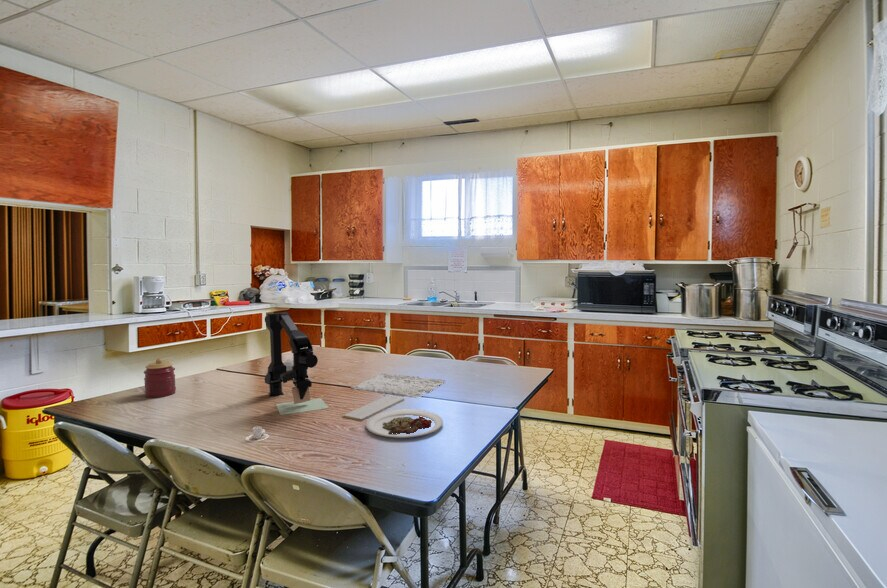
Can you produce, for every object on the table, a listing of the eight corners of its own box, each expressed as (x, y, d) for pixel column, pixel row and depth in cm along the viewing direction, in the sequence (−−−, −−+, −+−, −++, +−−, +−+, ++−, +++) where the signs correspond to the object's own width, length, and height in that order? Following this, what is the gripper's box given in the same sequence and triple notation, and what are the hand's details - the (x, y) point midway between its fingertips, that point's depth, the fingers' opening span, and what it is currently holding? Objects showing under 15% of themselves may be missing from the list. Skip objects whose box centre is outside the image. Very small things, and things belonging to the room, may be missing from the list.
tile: (293, 403, 203) (291, 387, 202) (309, 399, 206) (307, 384, 205) (294, 404, 201) (292, 388, 200) (310, 400, 204) (308, 385, 203)
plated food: (355, 421, 185) (355, 413, 185) (421, 409, 200) (421, 401, 200) (383, 448, 159) (383, 438, 159) (457, 431, 174) (457, 423, 174)
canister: (149, 391, 227) (147, 356, 226) (178, 389, 231) (177, 354, 230) (141, 399, 215) (139, 362, 214) (172, 396, 219) (170, 360, 218)
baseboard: (338, 417, 191) (361, 422, 185) (338, 410, 191) (361, 415, 185) (383, 397, 218) (404, 401, 212) (383, 391, 218) (404, 395, 212)
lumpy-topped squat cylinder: (308, 374, 261) (308, 359, 261) (290, 379, 250) (289, 363, 250) (296, 371, 267) (295, 357, 266) (277, 376, 256) (277, 361, 255)
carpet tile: (445, 383, 243) (445, 379, 243) (420, 399, 215) (420, 395, 215) (381, 376, 259) (381, 372, 259) (350, 390, 231) (350, 386, 231)
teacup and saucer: (258, 432, 174) (258, 422, 174) (275, 435, 171) (274, 425, 171) (240, 441, 166) (240, 430, 166) (257, 444, 163) (257, 433, 163)
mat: (275, 405, 205) (275, 404, 205) (321, 399, 214) (321, 398, 214) (280, 416, 191) (280, 414, 191) (328, 408, 200) (328, 407, 200)
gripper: (278, 361, 207) (279, 395, 208) (284, 370, 190) (285, 407, 191) (303, 359, 212) (304, 392, 213) (311, 367, 195) (312, 403, 196)
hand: (301, 398), depth 203 cm, fingers closed on tile, 2 cm apart
